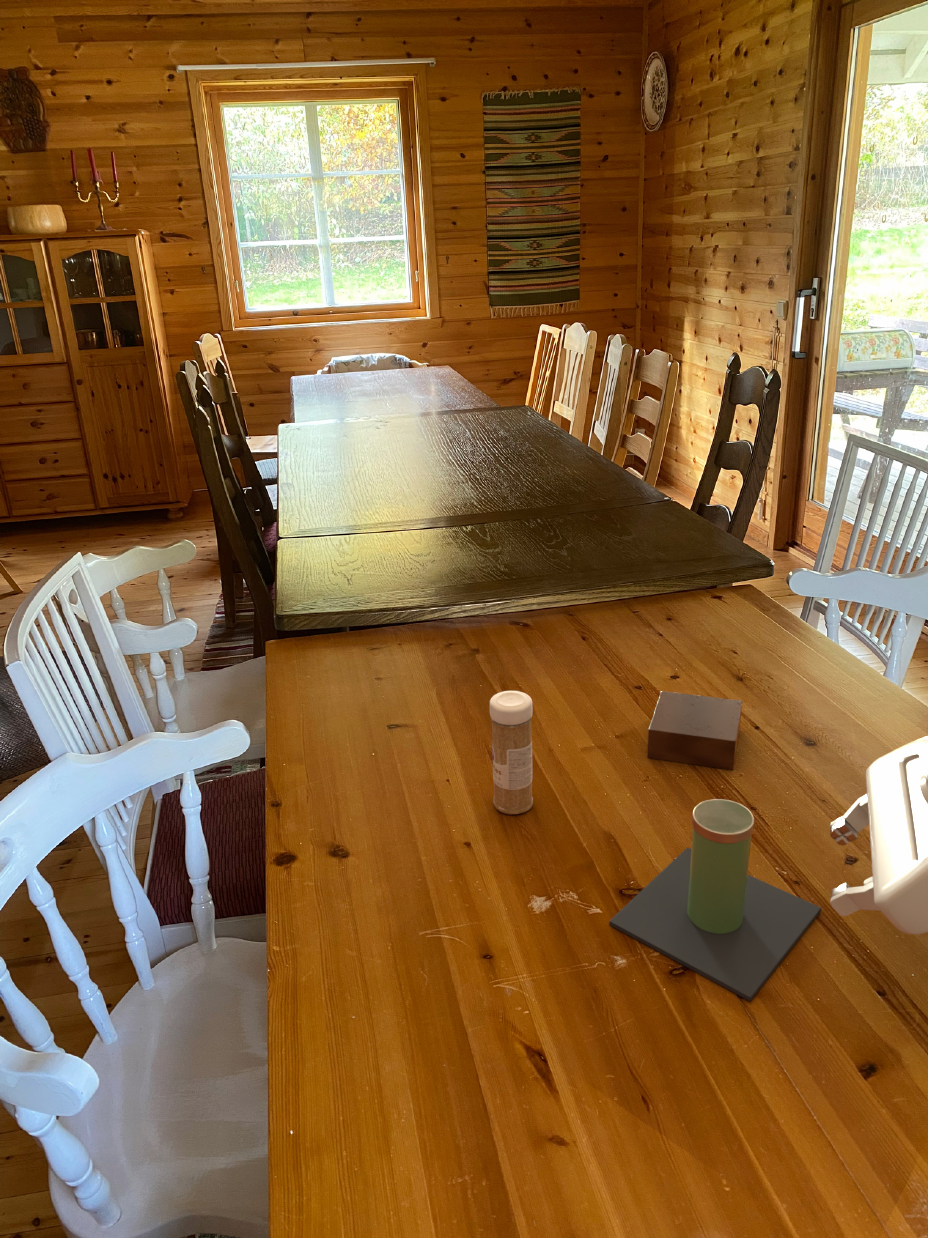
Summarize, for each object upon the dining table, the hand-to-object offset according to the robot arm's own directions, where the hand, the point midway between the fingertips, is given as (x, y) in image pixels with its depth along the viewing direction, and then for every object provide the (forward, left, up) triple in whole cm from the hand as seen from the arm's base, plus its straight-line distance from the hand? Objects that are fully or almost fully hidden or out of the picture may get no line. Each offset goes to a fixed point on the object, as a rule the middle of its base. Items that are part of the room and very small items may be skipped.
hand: (834, 868), depth 79 cm
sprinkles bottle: (+35, +2, -8) cm, 36 cm away
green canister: (+9, +4, -7) cm, 12 cm away
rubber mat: (+9, +4, -8) cm, 12 cm away
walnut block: (+26, -22, -8) cm, 35 cm away
